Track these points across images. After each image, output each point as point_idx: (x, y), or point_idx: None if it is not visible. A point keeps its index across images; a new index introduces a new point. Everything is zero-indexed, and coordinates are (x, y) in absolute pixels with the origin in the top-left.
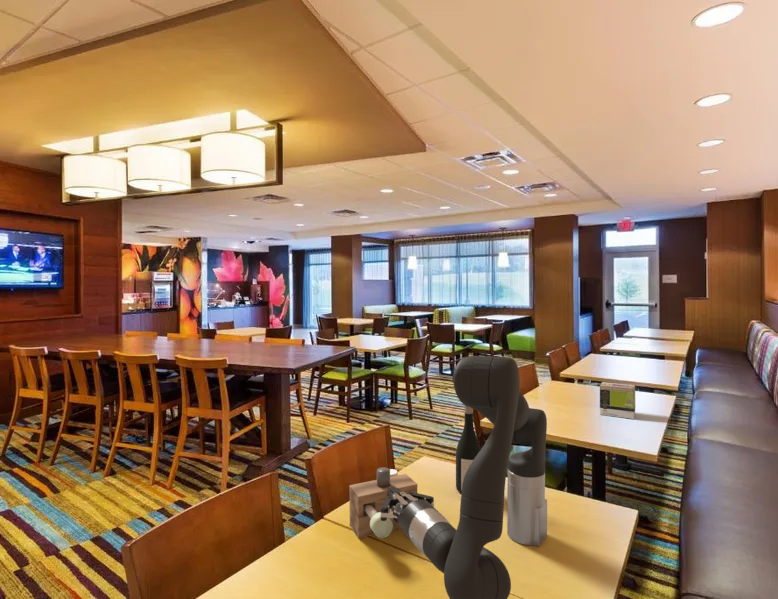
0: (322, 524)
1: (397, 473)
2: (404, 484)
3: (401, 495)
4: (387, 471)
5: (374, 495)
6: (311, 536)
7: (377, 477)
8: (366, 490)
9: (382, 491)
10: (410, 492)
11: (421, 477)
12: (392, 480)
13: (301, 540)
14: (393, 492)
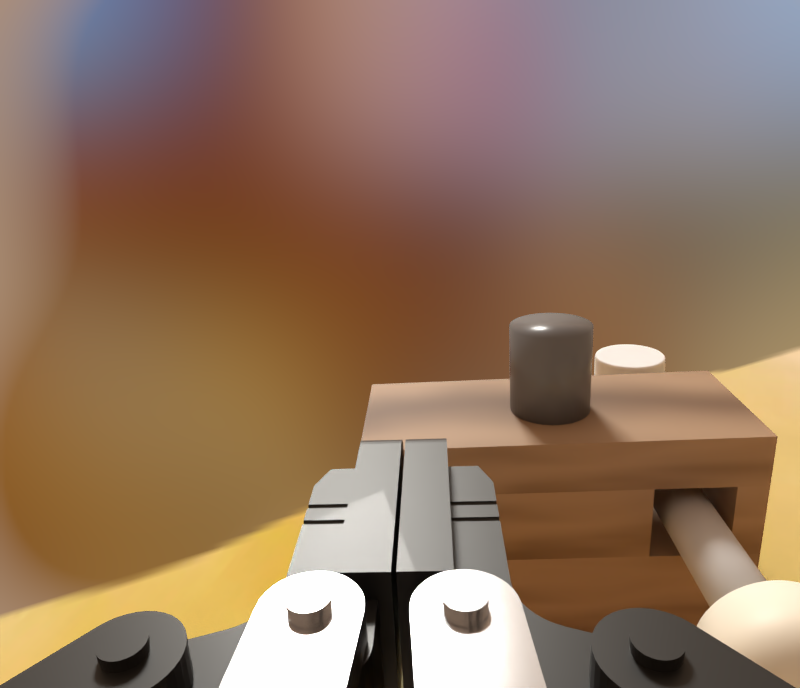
0: (285, 527)
1: (663, 366)
2: (683, 425)
3: (413, 665)
4: (572, 333)
5: (466, 460)
6: (198, 575)
7: (510, 362)
8: (433, 423)
9: (520, 445)
10: (642, 646)
11: (789, 405)
12: (613, 392)
13: (146, 585)
14: (341, 540)
